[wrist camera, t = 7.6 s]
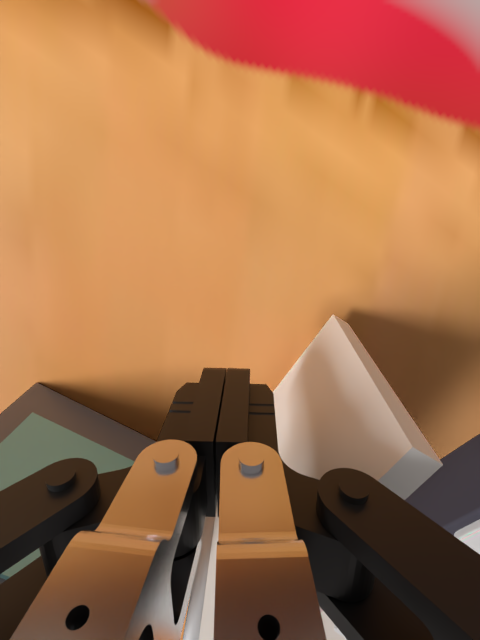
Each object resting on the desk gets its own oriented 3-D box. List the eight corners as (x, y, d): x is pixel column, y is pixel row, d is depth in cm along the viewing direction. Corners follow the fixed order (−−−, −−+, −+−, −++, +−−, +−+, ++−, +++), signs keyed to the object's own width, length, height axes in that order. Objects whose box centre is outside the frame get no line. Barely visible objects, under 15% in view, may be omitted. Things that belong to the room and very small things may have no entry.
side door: (248, 469, 18) (240, 677, 10) (223, 456, 17) (196, 658, 10) (361, 332, 15) (469, 480, 7) (332, 313, 14) (412, 446, 7)
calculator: (273, 634, 18) (547, 497, 13) (273, 553, 22) (485, 424, 17) (405, 720, 21) (682, 631, 16) (383, 632, 25) (600, 539, 20)
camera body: (233, 457, 19) (202, 775, 8) (165, 548, 21) (80, 871, 11) (9, 344, 17) (-364, 573, 7) (-33, 458, 20) (-345, 744, 9)
